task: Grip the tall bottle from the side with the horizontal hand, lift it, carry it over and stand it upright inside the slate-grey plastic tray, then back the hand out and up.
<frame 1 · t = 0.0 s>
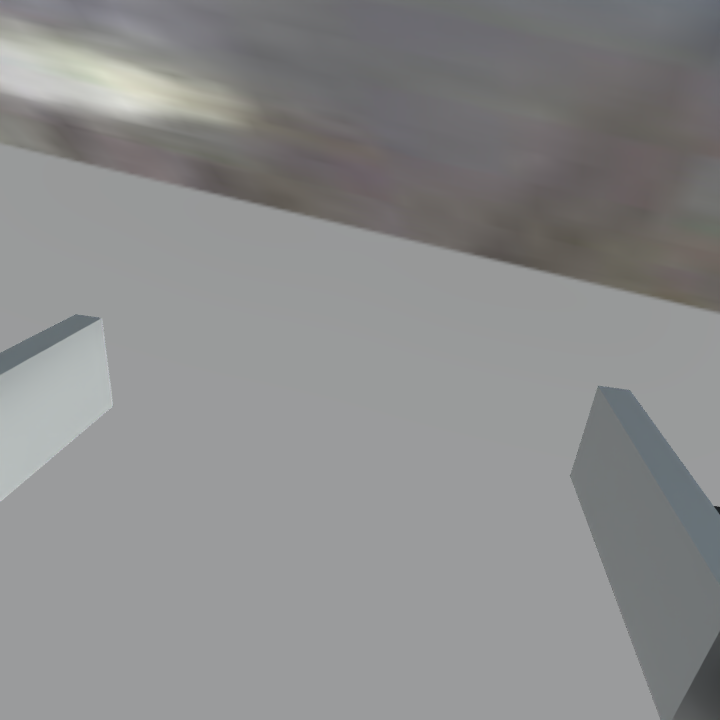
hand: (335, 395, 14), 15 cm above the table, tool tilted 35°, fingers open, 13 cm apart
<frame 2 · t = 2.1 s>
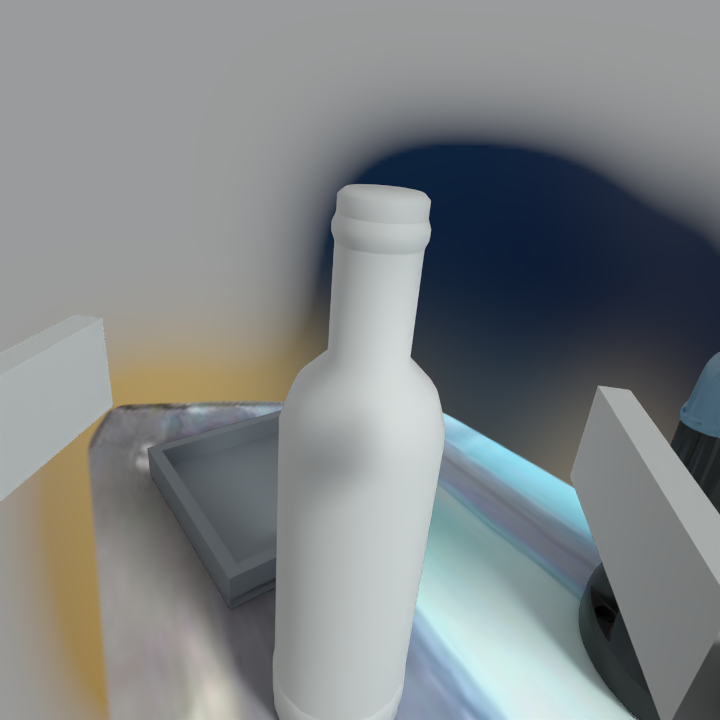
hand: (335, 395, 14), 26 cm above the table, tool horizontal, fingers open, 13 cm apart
tray: (280, 495, 49), on the table
bottle: (336, 692, 33), on the table
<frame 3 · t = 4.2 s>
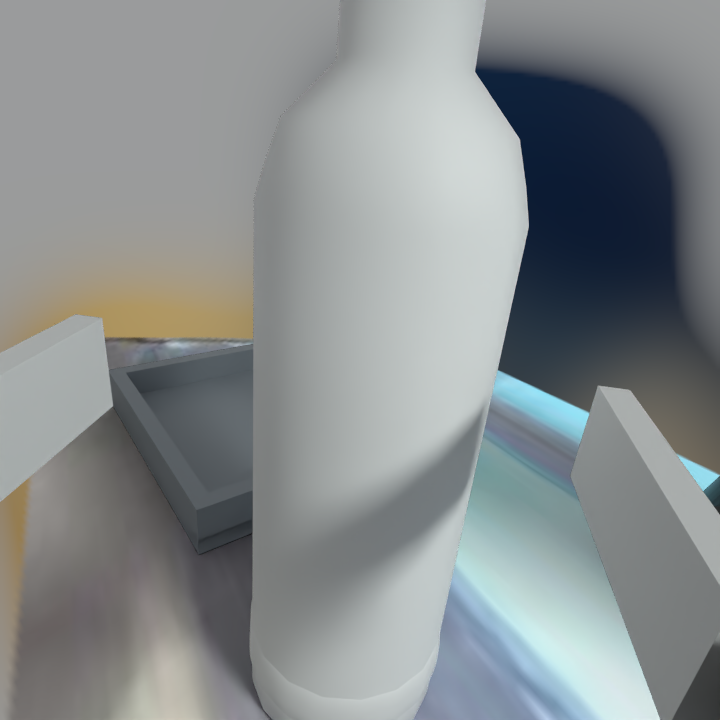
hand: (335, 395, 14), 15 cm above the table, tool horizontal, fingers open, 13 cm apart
tray: (271, 430, 39), on the table
bottle: (340, 662, 23), on the table
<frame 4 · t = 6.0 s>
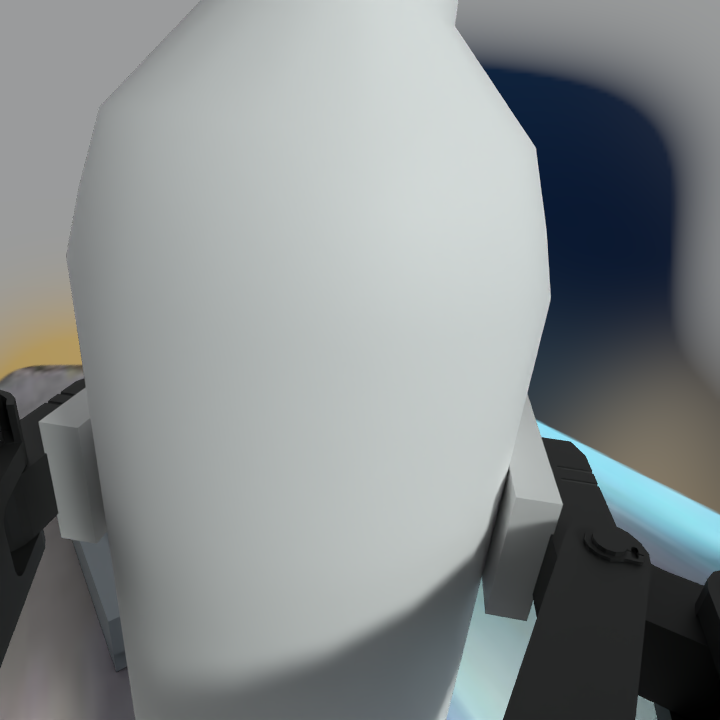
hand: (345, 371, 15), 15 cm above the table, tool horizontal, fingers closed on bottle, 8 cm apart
tray: (228, 483, 33), on the table
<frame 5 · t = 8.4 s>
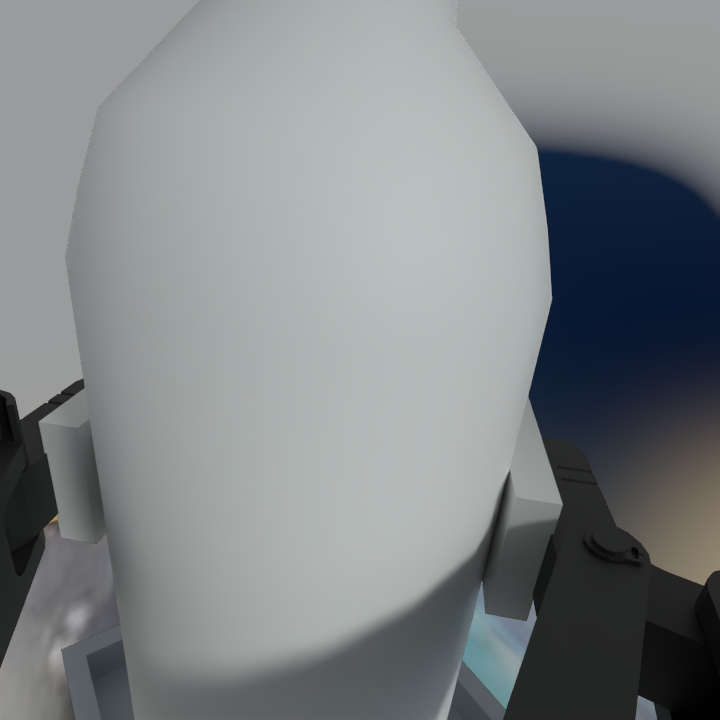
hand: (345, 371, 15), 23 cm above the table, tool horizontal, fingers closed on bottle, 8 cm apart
when the fingers open (16 cm above the table, at t = 11.0 s): bottle stays where it is, resting on tray.
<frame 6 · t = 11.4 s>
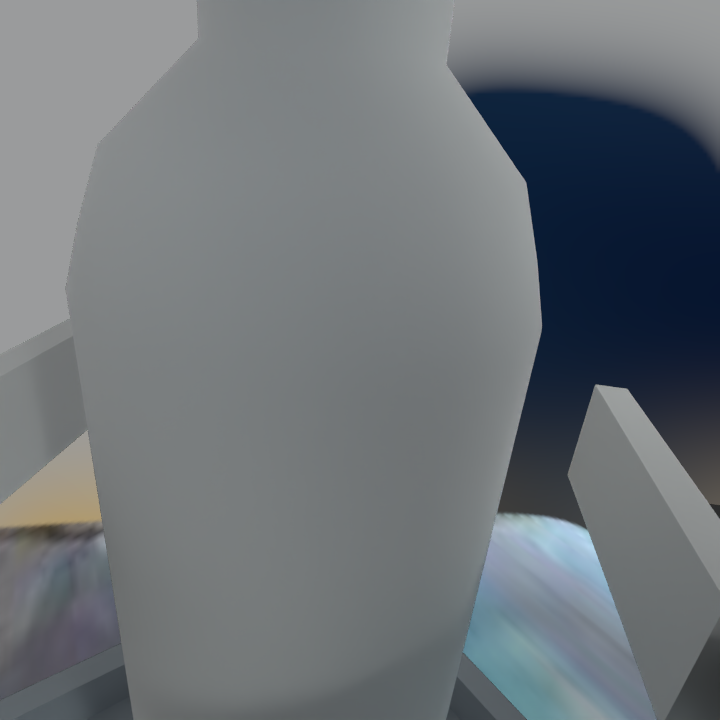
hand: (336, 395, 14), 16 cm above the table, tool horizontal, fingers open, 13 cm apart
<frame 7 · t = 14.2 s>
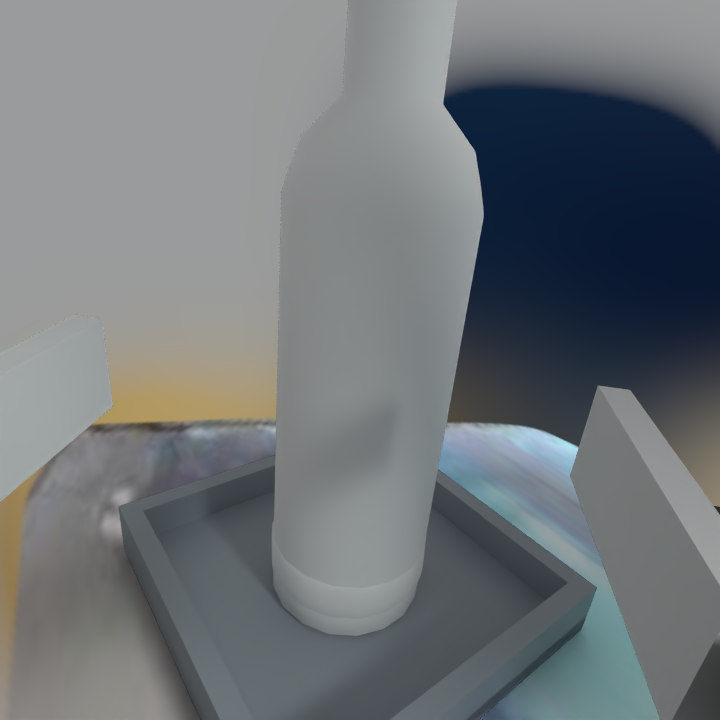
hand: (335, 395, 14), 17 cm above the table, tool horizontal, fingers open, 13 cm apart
tray: (343, 586, 29), on the table
bottle: (344, 576, 28), point 1 cm above the table, touching tray
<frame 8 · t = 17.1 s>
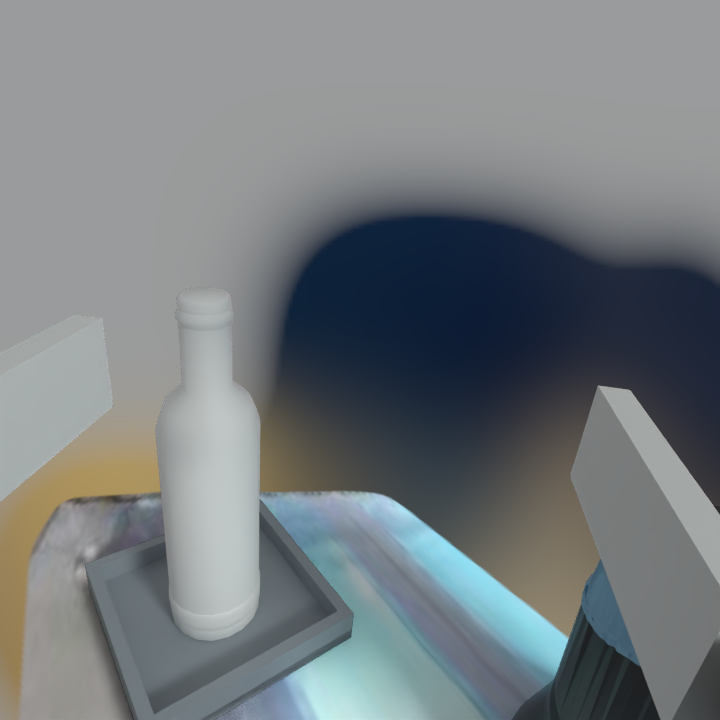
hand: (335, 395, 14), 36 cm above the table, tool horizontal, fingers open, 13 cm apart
tray: (216, 611, 49), on the table
bottle: (216, 605, 48), point 1 cm above the table, touching tray
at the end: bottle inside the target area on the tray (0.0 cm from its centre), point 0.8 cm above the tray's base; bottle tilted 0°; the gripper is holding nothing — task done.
